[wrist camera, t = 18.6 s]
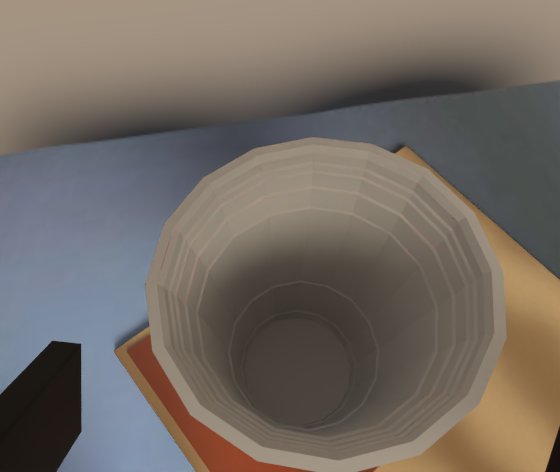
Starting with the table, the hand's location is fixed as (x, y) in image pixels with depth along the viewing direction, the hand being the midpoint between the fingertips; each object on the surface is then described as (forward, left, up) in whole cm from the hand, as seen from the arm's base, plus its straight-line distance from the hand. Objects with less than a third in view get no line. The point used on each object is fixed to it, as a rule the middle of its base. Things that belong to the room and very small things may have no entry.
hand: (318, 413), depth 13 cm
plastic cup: (-3, -3, -11) cm, 12 cm away
